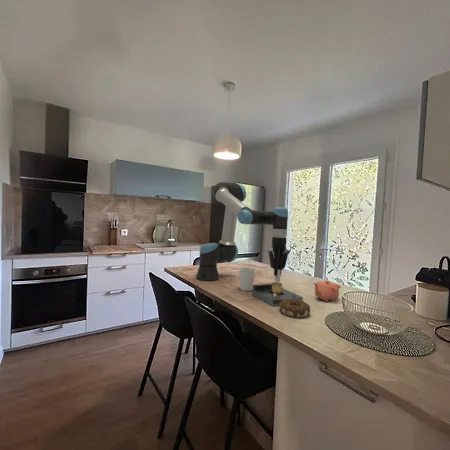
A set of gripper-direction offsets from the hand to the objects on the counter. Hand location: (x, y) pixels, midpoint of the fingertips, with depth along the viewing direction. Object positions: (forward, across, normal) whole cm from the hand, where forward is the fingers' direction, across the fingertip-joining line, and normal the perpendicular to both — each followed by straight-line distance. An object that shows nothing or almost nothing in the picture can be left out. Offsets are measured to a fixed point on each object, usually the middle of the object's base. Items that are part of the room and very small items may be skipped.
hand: (277, 281), depth 141 cm
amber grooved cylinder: (+9, 0, 0) cm, 9 cm away
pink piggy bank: (+9, +26, -9) cm, 29 cm away
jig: (+9, 0, 0) cm, 9 cm away
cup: (+9, -7, +20) cm, 23 cm away
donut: (+10, -4, -19) cm, 22 cm away
